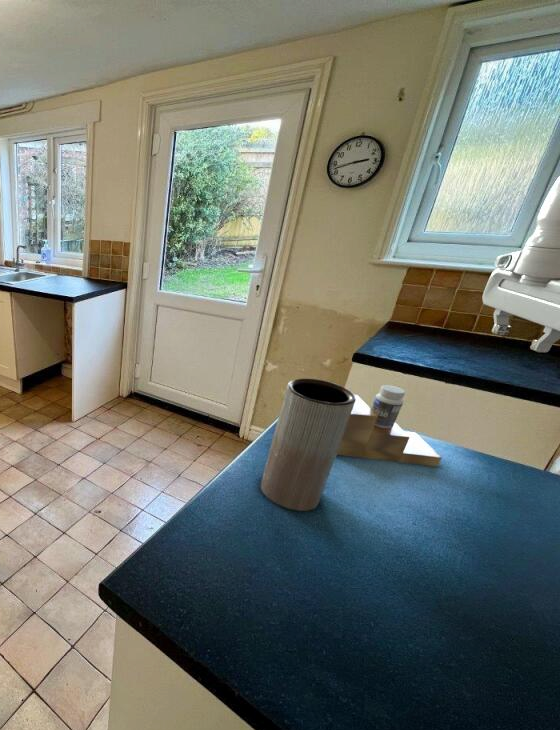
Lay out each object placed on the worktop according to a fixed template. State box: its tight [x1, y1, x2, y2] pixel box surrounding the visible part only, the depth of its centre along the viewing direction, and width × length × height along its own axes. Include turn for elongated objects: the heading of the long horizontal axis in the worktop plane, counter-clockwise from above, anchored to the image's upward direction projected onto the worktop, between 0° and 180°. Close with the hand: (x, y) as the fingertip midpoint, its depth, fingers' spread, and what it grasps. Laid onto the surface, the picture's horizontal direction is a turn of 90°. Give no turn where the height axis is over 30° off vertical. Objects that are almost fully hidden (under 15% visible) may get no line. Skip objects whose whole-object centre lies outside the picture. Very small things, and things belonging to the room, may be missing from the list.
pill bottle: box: [370, 384, 406, 428], centre depth 89 cm, size 5×5×8 cm
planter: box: [260, 378, 356, 512], centre depth 75 cm, size 10×10×23 cm
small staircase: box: [336, 394, 443, 467], centre depth 91 cm, size 21×10×11 cm, turn 76°
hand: (517, 342), depth 76 cm, fingers open, 8 cm apart
